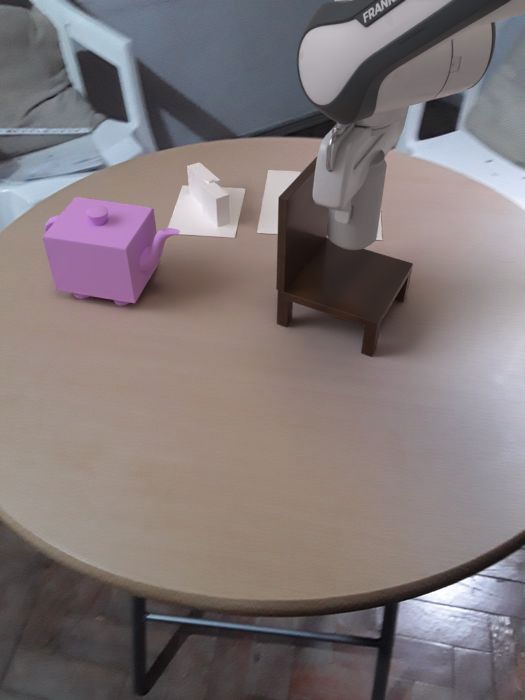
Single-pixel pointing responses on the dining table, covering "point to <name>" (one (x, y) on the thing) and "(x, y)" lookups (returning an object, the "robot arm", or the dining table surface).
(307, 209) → the wooden doll chair
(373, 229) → the beverage can
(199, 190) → the napkin holder
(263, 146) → the dining table surface
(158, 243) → the teapot
